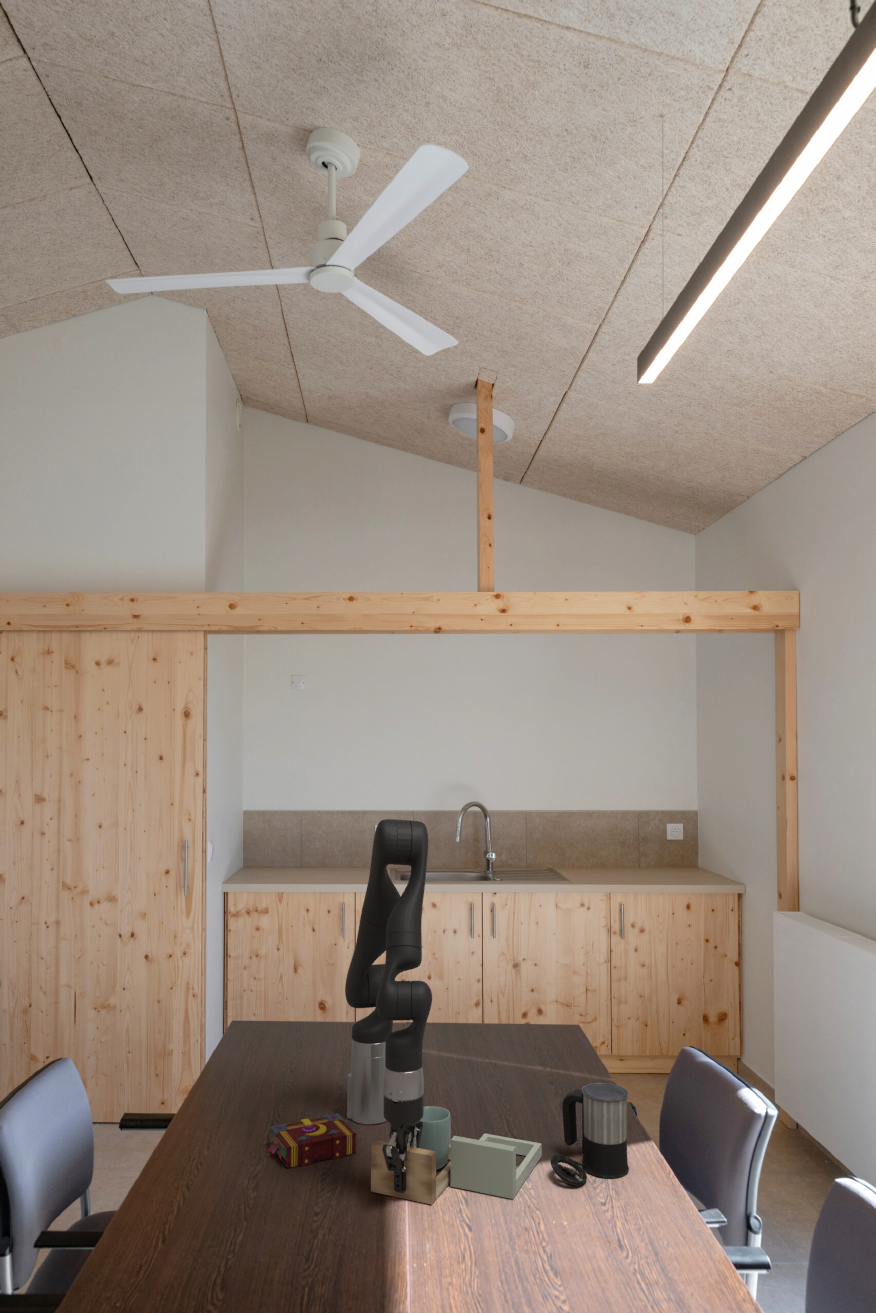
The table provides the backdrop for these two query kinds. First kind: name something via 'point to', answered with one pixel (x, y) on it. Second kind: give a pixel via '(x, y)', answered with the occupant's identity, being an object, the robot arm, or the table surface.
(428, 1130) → the cup
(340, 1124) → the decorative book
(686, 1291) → the table surface
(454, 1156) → the frame
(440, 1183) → the wooden drawer
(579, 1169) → the milk frother
